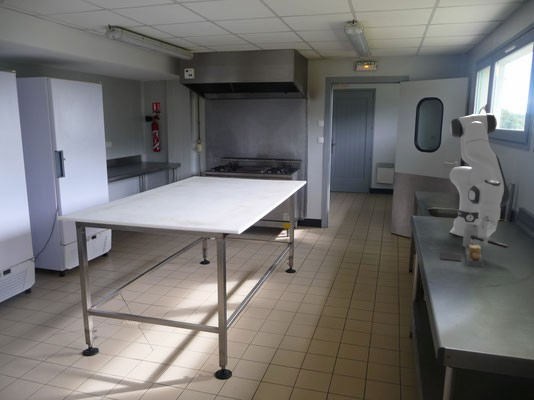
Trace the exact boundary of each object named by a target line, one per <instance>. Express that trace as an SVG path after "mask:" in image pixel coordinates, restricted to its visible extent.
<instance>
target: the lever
mask: <svg viewBox="0 0 534 400" xmlns="http://www.w3.org/2000/svg"><path fill="white" fill-rule="evenodd" d="M470 238H472V239H476V240H479V242H483V241H484V240H483V238H479V237H477V236H475V235H471V237H470ZM488 244H491V245H494V246H497V247H501V248H505V249H509V244H507V243H502V242H499V241H495V240H492V239H489V243H488Z"/></svg>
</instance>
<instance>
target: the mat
mask: <svg viewBox="0 0 534 400" xmlns="http://www.w3.org/2000/svg"><path fill="white" fill-rule="evenodd" d="M439 260H442V261H451V262H457V263H462V258H461V254H459V253H450V252H449V253H448V252H440V253H439Z"/></svg>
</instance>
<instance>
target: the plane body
mask: <svg viewBox="0 0 534 400" xmlns="http://www.w3.org/2000/svg"><path fill="white" fill-rule="evenodd" d="M474 240H475V239H471V245H474ZM464 248H465V249H464V253H465V259H466V264H467V267H471V266H472V267H473V268H479V269H480V268H481V269H483V268H484V260H483V257H482V253H481V254H479V253H473V255H472V256H469V246H465V247H464ZM479 256H480V257H479Z"/></svg>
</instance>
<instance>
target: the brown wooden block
mask: <svg viewBox="0 0 534 400" xmlns="http://www.w3.org/2000/svg"><path fill="white" fill-rule="evenodd" d="M481 250H482V248H481V245H480V244H479V245H470V244H469V256H472V255H473V253H479V254H481V255H482V251H481ZM479 257H480V256H479Z"/></svg>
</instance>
